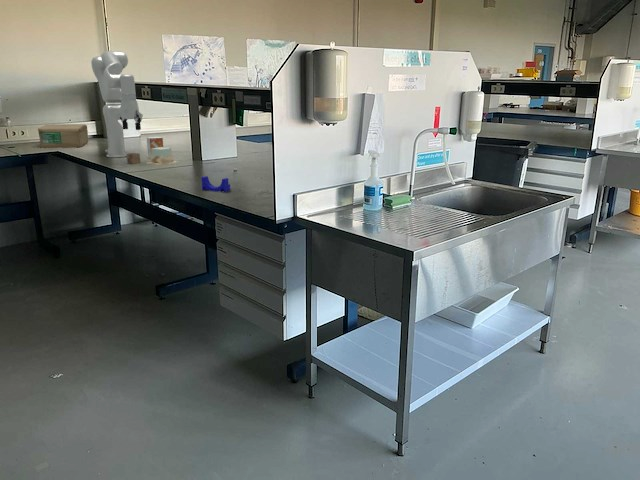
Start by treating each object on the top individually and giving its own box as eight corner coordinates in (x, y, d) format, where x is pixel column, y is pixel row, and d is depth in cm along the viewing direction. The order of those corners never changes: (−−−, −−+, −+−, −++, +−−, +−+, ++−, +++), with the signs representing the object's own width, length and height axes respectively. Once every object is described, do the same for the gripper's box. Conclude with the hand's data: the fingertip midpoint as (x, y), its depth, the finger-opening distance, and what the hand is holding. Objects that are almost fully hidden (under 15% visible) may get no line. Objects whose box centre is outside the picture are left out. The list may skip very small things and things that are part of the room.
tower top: (151, 155, 303) (150, 148, 302) (161, 153, 310) (160, 147, 309) (162, 156, 300) (161, 149, 298) (171, 154, 306) (171, 148, 305)
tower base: (150, 162, 304) (150, 155, 303) (161, 160, 312) (161, 153, 310) (162, 163, 300) (162, 156, 299) (173, 161, 308) (173, 154, 307)
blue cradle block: (230, 190, 240) (229, 177, 238) (225, 192, 236) (224, 179, 234) (207, 188, 244) (206, 175, 242) (202, 190, 240) (201, 177, 238)
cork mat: (144, 163, 303) (144, 162, 303) (161, 160, 315) (161, 159, 315) (163, 166, 297) (163, 164, 297) (179, 162, 309) (179, 161, 309)
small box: (151, 160, 316) (149, 138, 312) (148, 158, 321) (146, 137, 317) (164, 159, 320) (162, 137, 316) (161, 157, 325) (159, 136, 321)
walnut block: (127, 164, 300) (126, 154, 298) (134, 163, 305) (133, 152, 303) (134, 165, 298) (133, 154, 296) (140, 164, 302) (139, 153, 301)
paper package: (39, 148, 355) (36, 127, 351) (49, 143, 379) (46, 123, 375) (82, 147, 361) (79, 127, 357) (89, 143, 385) (86, 123, 381)
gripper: (112, 97, 291) (115, 129, 296) (135, 98, 284) (138, 130, 289) (122, 97, 298) (125, 128, 303) (145, 98, 290) (148, 129, 295)
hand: (131, 129), depth 296 cm, fingers open, 9 cm apart
